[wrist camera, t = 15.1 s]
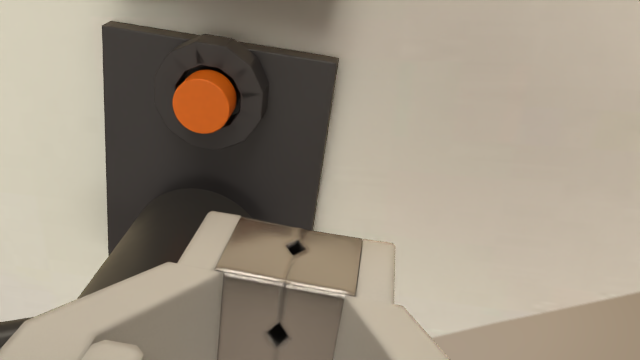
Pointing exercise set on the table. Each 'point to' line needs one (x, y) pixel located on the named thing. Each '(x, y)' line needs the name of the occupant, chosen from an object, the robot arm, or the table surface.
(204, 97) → the button
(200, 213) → the kettle
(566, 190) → the table surface
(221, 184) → the button base
